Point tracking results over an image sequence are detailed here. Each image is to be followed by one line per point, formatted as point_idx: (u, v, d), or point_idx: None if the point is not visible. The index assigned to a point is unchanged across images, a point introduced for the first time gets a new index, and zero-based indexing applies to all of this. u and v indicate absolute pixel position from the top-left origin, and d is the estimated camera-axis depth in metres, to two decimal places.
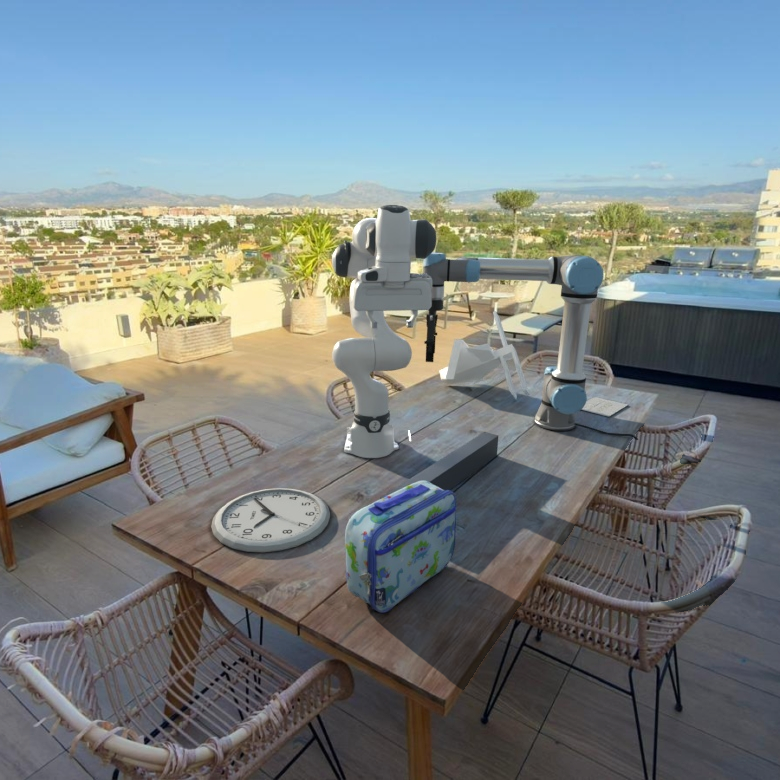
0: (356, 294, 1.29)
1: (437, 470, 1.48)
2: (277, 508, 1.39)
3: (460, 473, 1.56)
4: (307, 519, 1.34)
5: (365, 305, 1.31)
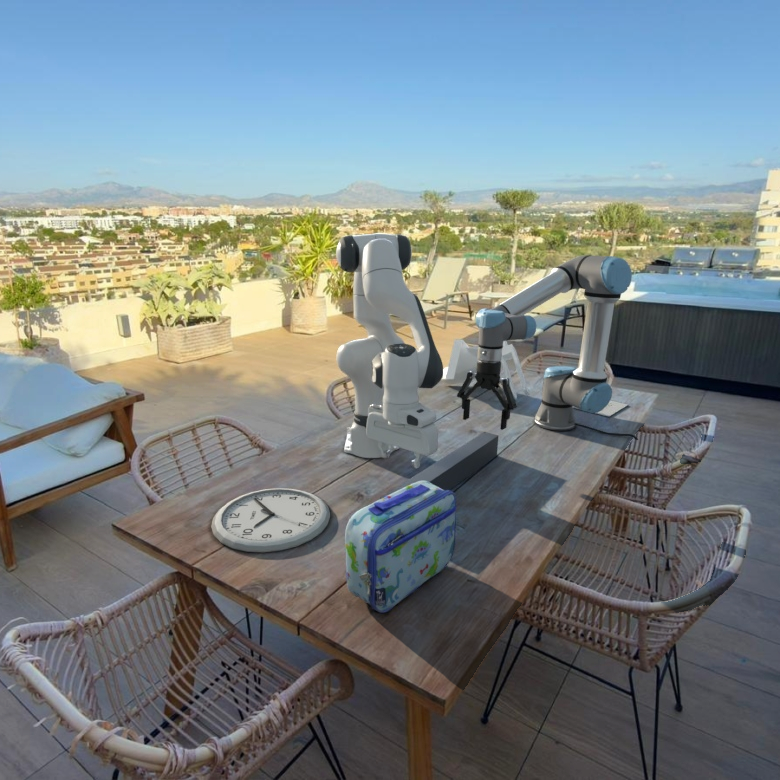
0: None
1: (437, 470, 1.48)
2: (277, 508, 1.39)
3: (460, 473, 1.56)
4: (307, 519, 1.34)
5: None
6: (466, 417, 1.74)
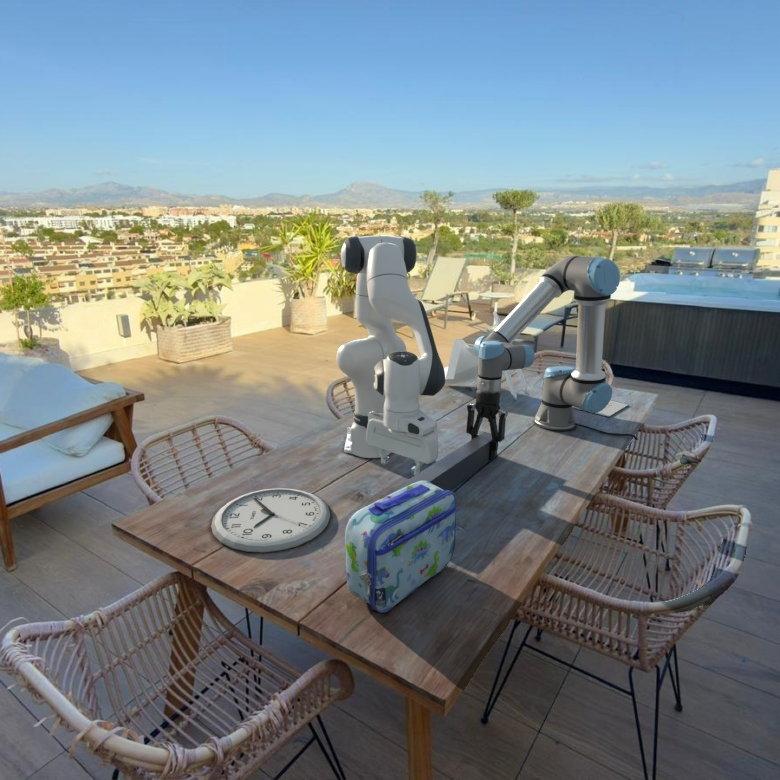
0: None
1: (437, 470, 1.48)
2: (277, 508, 1.39)
3: (460, 473, 1.56)
4: (307, 519, 1.34)
5: None
6: None
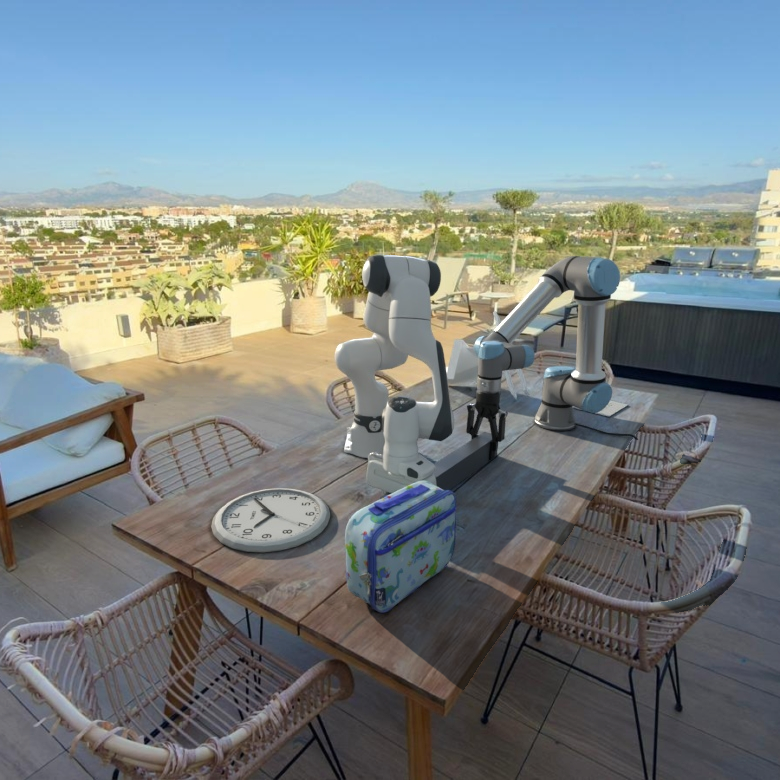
0: None
1: (437, 470, 1.48)
2: (277, 508, 1.39)
3: (460, 473, 1.56)
4: (307, 519, 1.34)
5: None
6: None
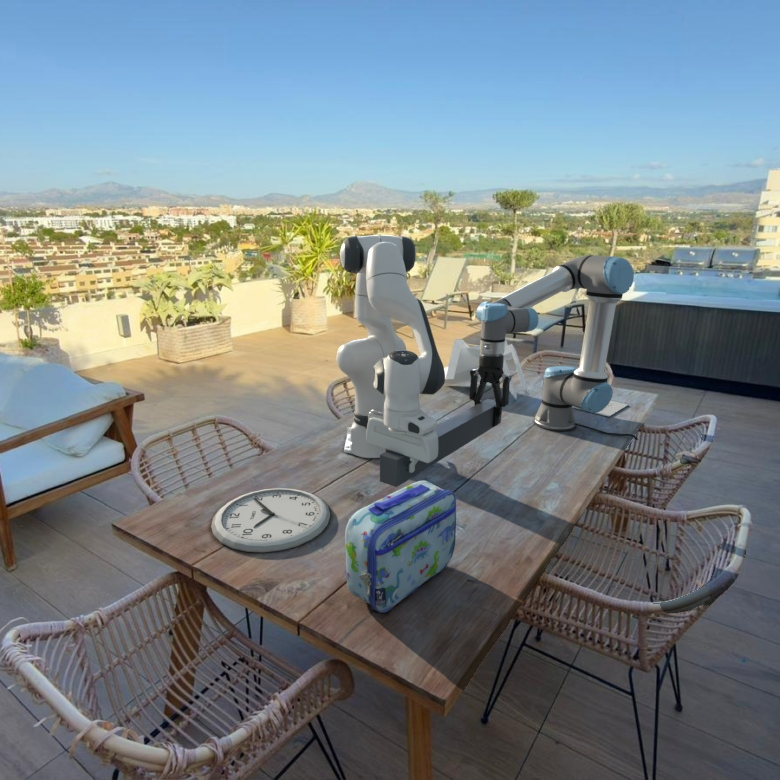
0: None
1: (439, 431, 1.45)
2: (277, 508, 1.39)
3: (463, 436, 1.53)
4: (307, 519, 1.34)
5: None
6: None
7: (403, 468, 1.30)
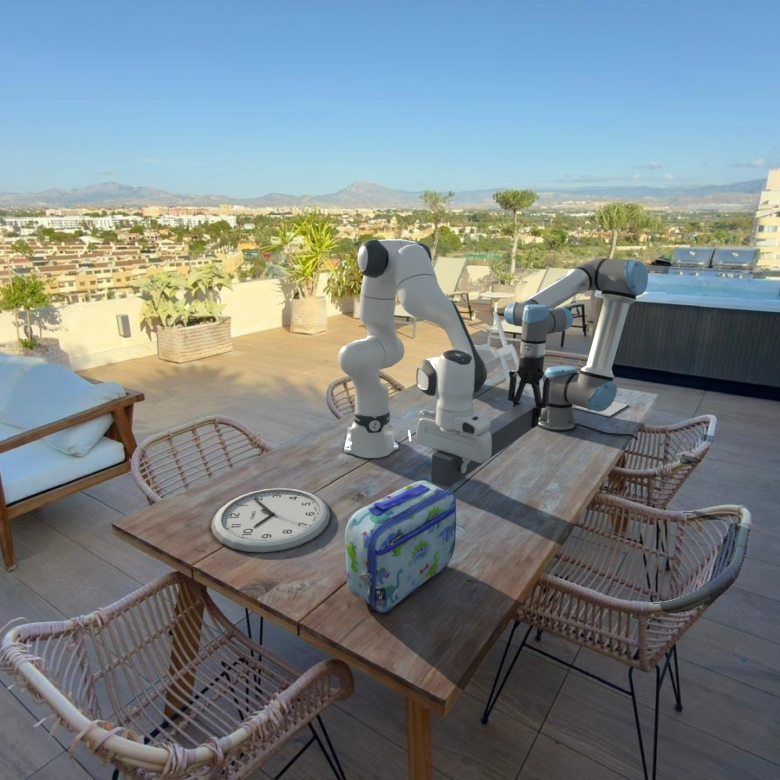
0: None
1: None
2: (277, 508, 1.39)
3: (506, 437, 1.52)
4: (307, 519, 1.34)
5: None
6: None
7: (455, 468, 1.29)
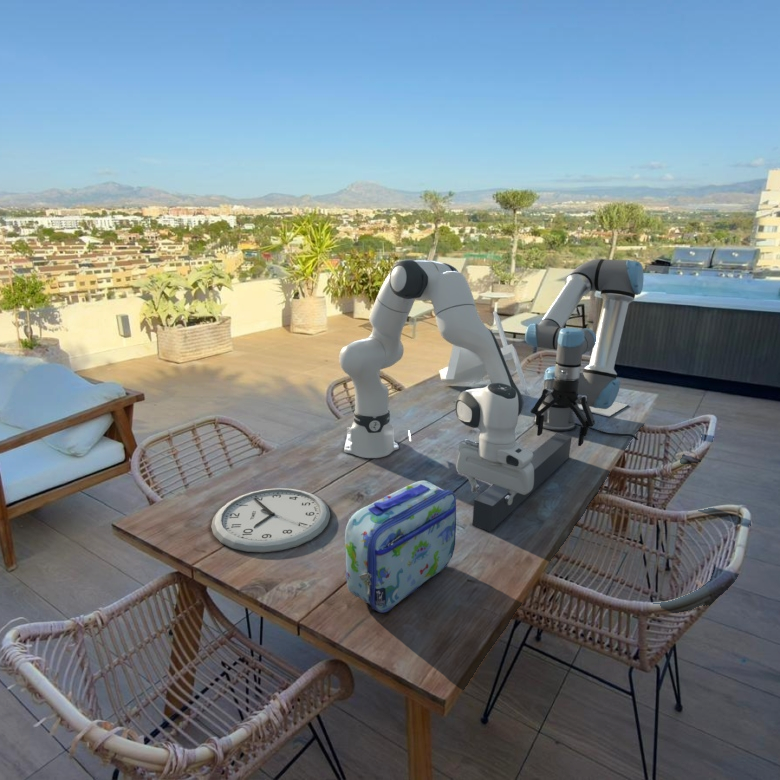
0: None
1: None
2: (277, 508, 1.39)
3: (541, 475, 1.56)
4: (307, 519, 1.34)
5: None
6: (540, 433, 1.75)
7: (496, 513, 1.32)
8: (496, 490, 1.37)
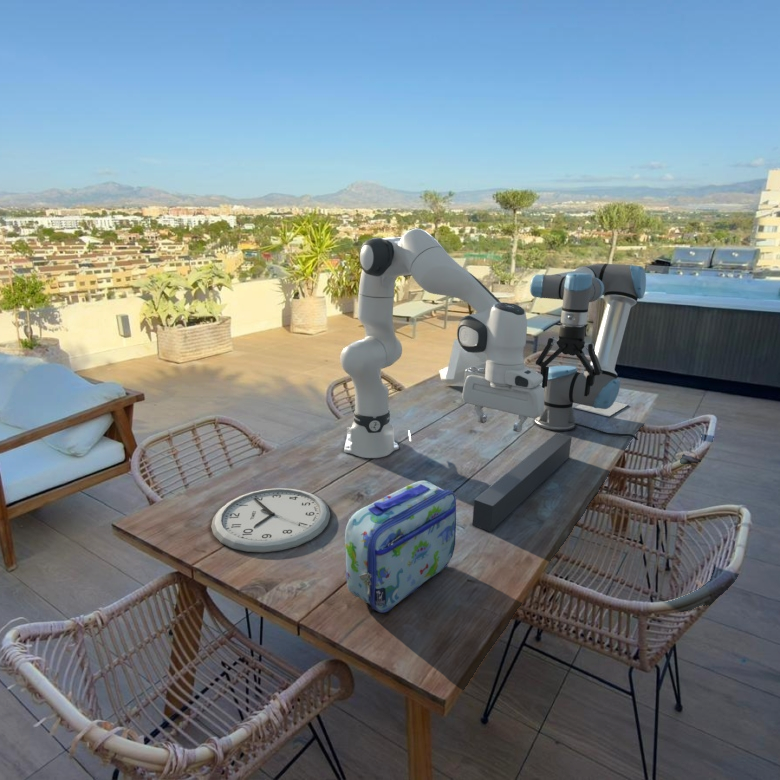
0: None
1: (522, 472, 1.48)
2: (277, 508, 1.39)
3: (541, 475, 1.56)
4: (307, 519, 1.34)
5: None
6: (545, 385, 1.69)
7: (496, 513, 1.32)
8: (496, 490, 1.37)
